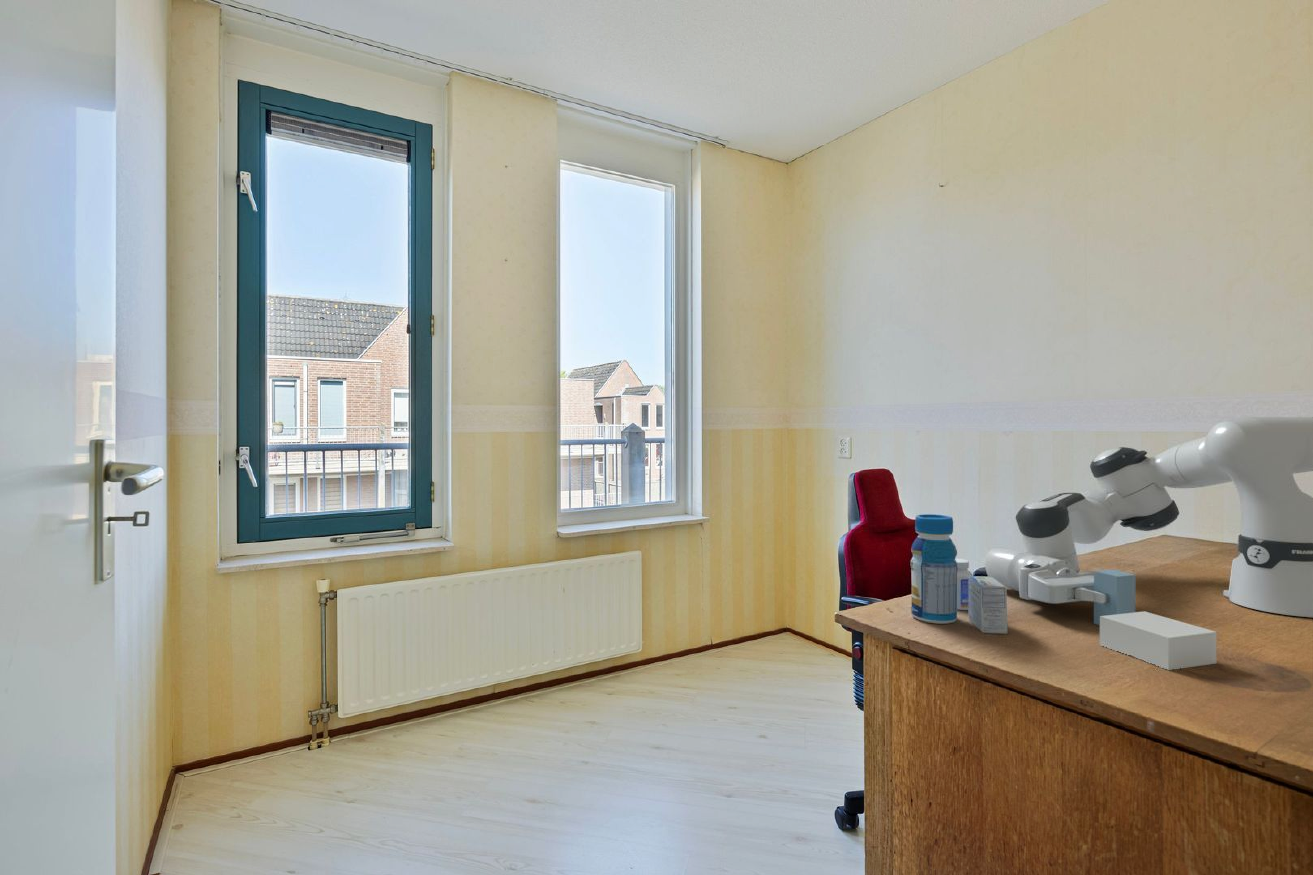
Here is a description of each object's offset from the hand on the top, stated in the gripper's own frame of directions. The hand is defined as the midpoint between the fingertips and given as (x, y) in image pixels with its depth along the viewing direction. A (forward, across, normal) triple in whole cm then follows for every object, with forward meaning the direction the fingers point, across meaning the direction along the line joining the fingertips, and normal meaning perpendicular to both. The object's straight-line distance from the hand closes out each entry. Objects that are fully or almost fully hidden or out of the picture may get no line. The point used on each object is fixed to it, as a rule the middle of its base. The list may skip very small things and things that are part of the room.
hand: (1119, 597), depth 112 cm
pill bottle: (-19, +19, -6) cm, 27 cm away
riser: (+12, +7, -6) cm, 15 cm away
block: (-1, 0, -6) cm, 6 cm away
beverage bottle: (-14, +29, -6) cm, 33 cm away
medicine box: (-7, +23, -6) cm, 25 cm away
